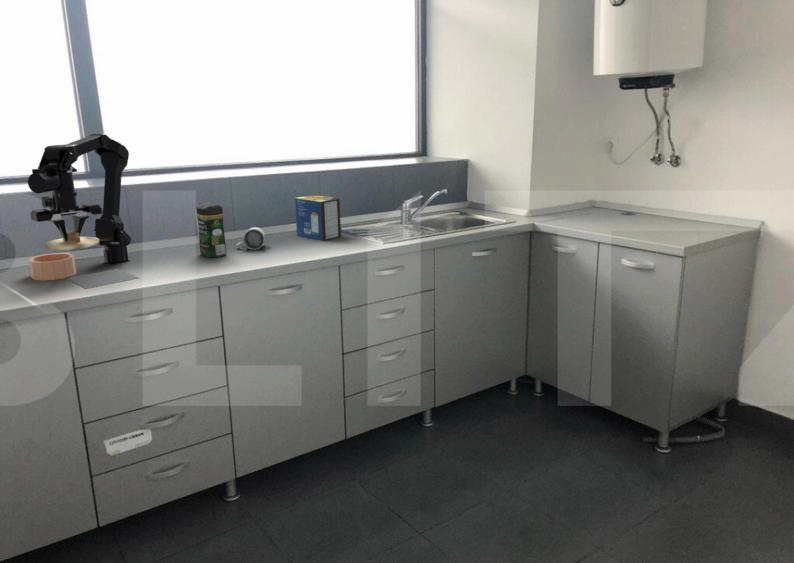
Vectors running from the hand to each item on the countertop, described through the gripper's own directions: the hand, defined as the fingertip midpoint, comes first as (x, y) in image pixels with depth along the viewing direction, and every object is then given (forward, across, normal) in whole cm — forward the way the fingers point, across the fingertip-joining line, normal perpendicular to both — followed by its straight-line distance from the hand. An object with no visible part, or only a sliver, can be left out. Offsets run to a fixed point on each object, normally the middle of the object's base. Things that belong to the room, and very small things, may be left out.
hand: (71, 240), depth 192 cm
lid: (+1, 0, 0) cm, 1 cm away
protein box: (+12, -90, +9) cm, 92 cm away
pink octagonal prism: (+12, +4, -7) cm, 15 cm away
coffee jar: (+12, -45, +5) cm, 47 cm away
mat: (+12, -4, +8) cm, 15 cm away
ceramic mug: (+12, -60, +6) cm, 62 cm away
